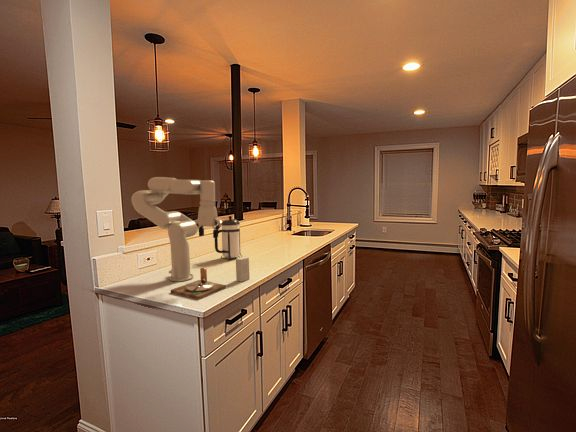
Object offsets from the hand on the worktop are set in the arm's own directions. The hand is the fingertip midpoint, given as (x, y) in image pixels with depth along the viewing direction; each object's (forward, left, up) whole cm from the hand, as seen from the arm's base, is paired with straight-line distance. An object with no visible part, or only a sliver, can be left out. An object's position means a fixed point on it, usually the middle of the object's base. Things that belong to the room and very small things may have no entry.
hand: (208, 236), depth 165 cm
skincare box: (+13, +11, -25) cm, 30 cm away
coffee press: (-27, +47, -25) cm, 59 cm away
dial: (+7, -14, -22) cm, 27 cm away
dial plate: (+5, -13, -24) cm, 28 cm away
